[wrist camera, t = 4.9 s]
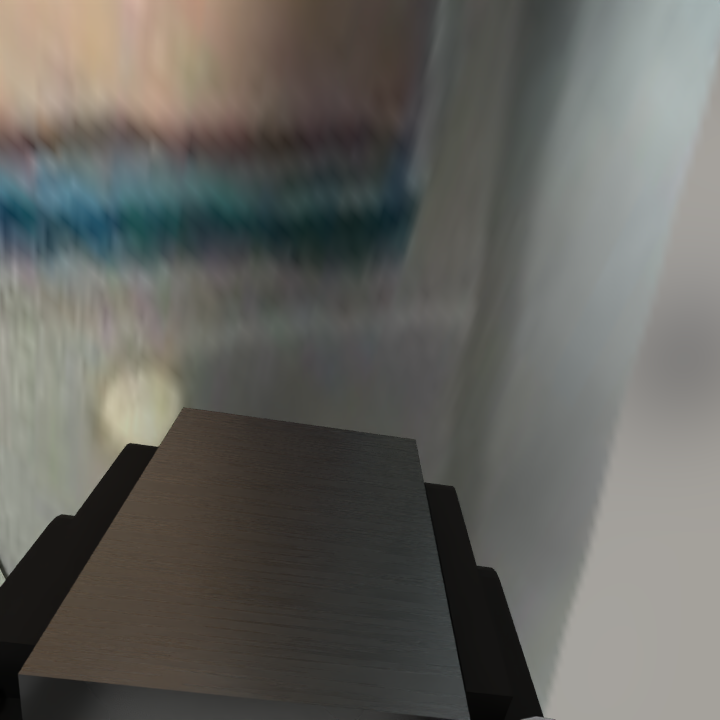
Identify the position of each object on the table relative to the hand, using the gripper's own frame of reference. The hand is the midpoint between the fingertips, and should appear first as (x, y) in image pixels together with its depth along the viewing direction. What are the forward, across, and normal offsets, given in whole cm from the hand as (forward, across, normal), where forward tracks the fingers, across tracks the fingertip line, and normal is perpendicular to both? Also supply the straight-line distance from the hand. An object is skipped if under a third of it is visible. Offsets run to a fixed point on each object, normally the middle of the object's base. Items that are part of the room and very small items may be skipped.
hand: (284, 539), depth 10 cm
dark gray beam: (+1, 0, +6) cm, 6 cm away
